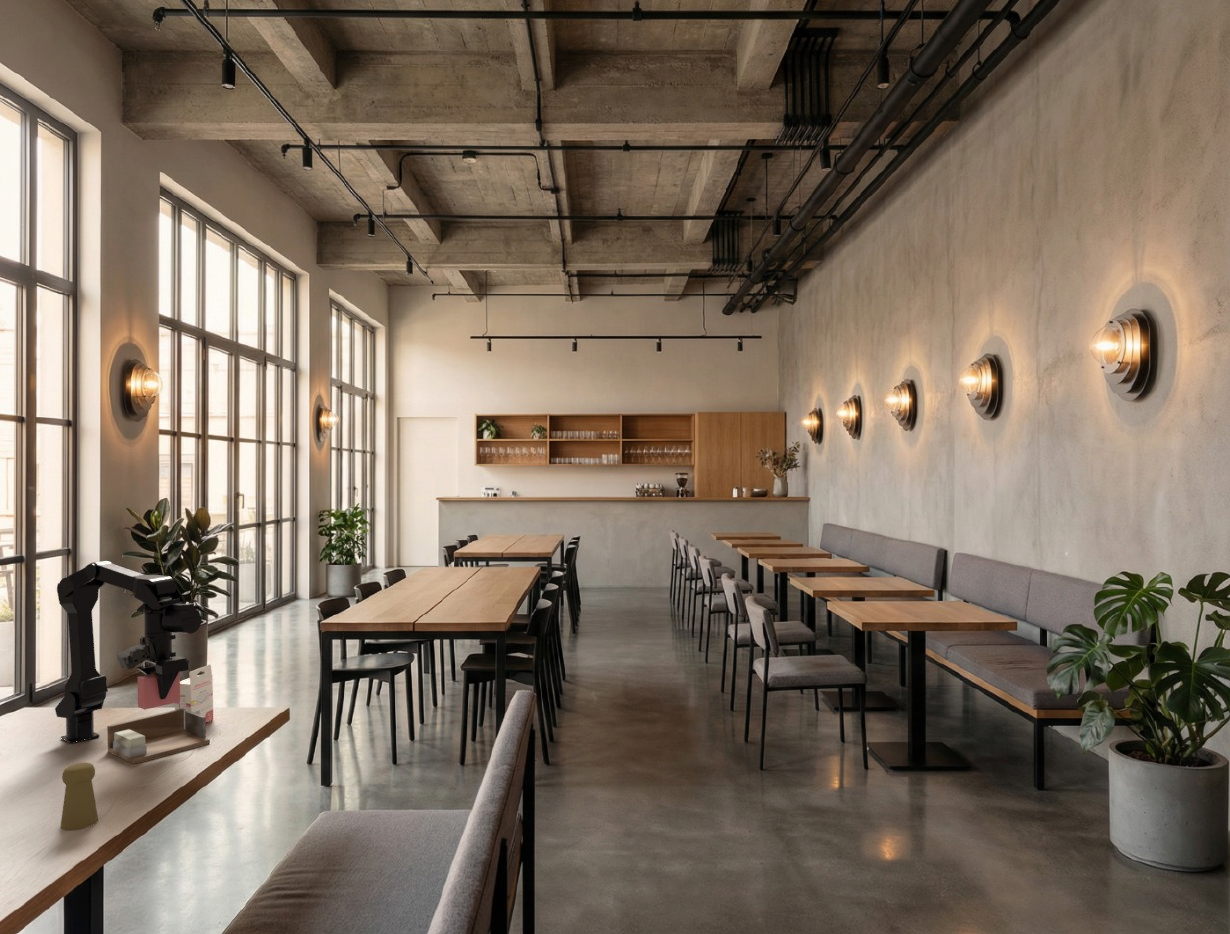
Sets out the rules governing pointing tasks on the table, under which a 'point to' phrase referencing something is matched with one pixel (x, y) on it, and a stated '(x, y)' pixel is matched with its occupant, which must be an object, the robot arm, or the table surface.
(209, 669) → the ink cartridge box
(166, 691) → the robot arm
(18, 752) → the table surface
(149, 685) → the tall dusty pink block
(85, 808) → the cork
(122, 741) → the shelf
